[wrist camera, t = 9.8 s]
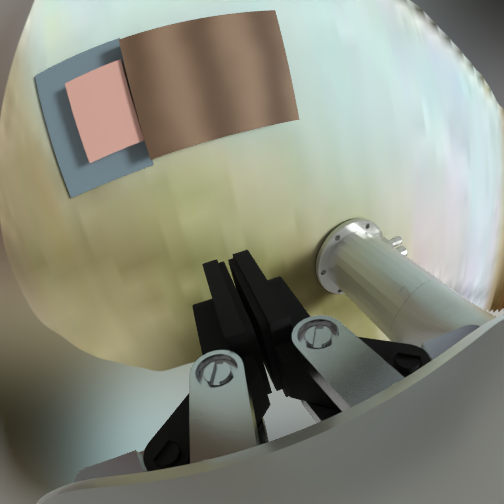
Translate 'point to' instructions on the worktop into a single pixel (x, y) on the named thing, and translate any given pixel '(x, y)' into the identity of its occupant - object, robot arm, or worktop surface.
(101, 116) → the tile
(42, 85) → the mat
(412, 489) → the robot arm
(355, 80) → the worktop surface
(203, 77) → the platform
